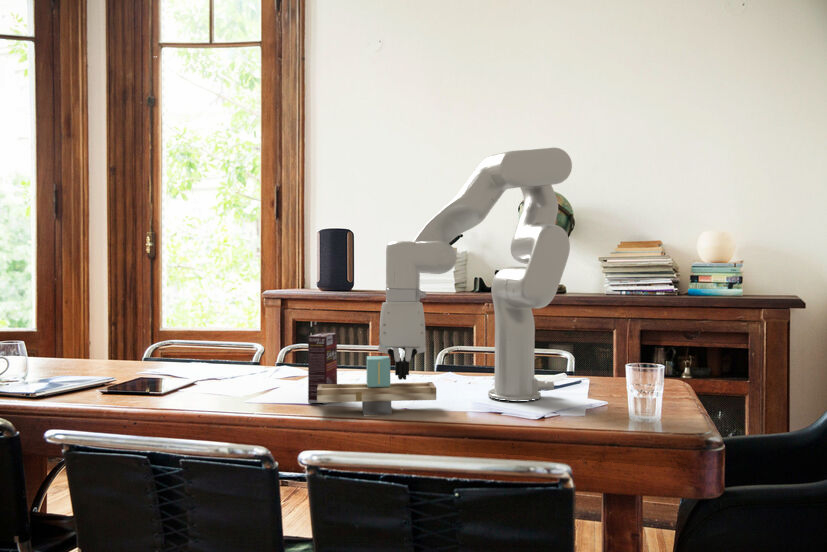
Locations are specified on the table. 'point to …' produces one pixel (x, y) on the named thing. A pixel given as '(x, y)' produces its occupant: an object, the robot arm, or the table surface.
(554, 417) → the table surface
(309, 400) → the supplement box
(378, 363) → the block
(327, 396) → the beam
